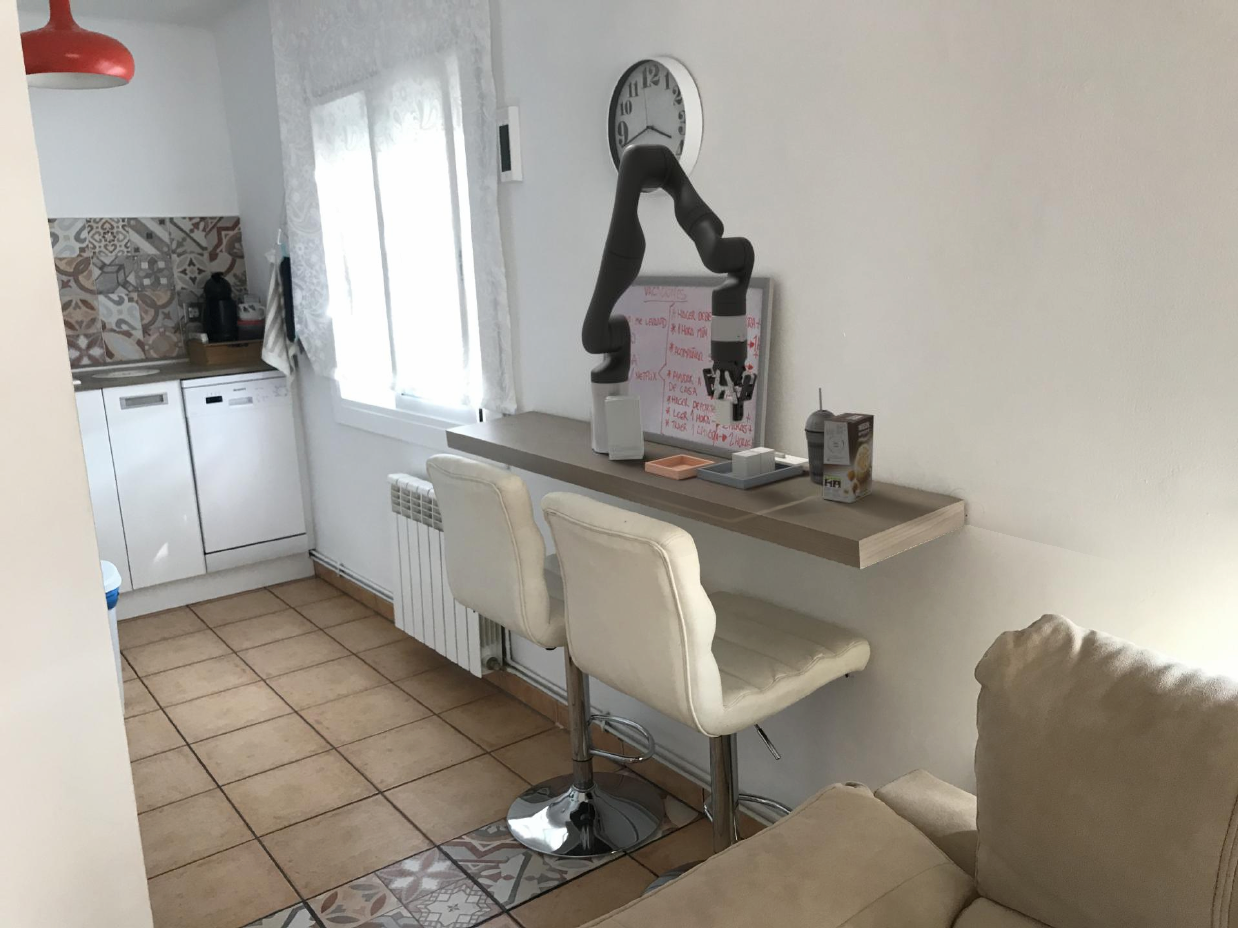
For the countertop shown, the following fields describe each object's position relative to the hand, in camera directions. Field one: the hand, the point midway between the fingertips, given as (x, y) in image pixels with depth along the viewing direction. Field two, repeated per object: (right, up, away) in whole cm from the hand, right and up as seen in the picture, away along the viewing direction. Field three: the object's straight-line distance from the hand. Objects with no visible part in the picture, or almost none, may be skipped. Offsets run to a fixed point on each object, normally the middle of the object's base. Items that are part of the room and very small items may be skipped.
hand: (729, 418), depth 206 cm
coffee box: (+22, -16, -10) cm, 29 cm away
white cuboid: (+4, -12, +6) cm, 14 cm away
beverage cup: (+19, -14, 0) cm, 24 cm away
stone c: (+8, -11, +9) cm, 16 cm away
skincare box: (-21, -8, +30) cm, 38 cm away
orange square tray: (-9, -12, +13) cm, 20 cm away
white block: (0, -1, 0) cm, 1 cm away
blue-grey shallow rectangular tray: (+6, -12, +7) cm, 16 cm away
